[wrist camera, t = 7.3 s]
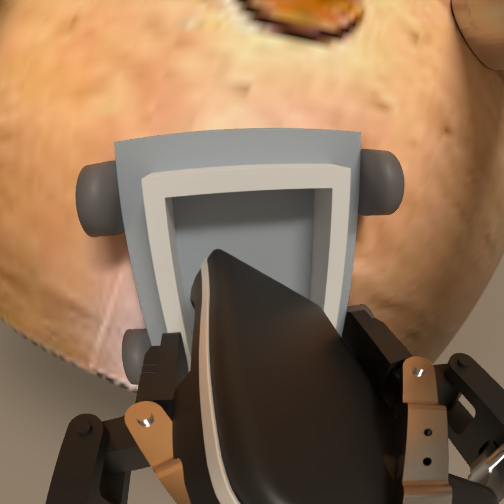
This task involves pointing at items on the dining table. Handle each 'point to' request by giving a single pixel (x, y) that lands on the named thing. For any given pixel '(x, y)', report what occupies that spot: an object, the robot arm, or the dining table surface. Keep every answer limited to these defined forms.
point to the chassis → (236, 215)
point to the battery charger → (275, 400)
